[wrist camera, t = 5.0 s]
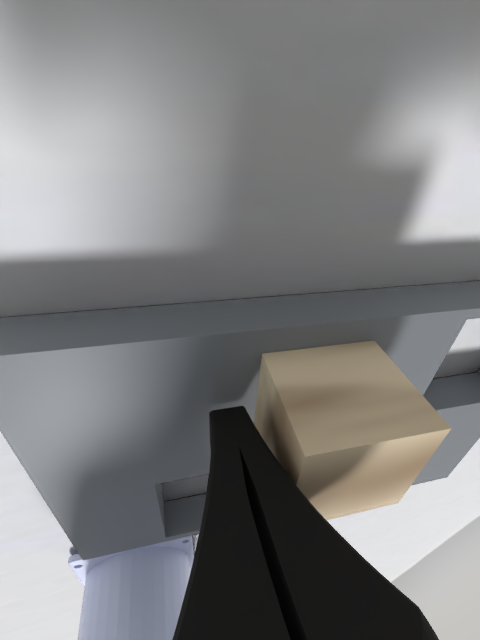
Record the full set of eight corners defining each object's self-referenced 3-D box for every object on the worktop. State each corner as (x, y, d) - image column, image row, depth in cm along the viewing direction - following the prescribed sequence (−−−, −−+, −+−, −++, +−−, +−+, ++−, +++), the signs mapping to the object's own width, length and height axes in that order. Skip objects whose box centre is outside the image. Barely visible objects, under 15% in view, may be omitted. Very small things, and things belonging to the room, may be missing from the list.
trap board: (427, 451, 24) (447, 477, 23) (88, 521, 19) (82, 560, 18) (550, 275, 15) (595, 296, 14) (-16, 318, 10) (-45, 360, 9)
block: (345, 414, 15) (398, 502, 12) (253, 430, 14) (282, 530, 11) (374, 340, 12) (451, 428, 9) (262, 353, 11) (305, 456, 8)
